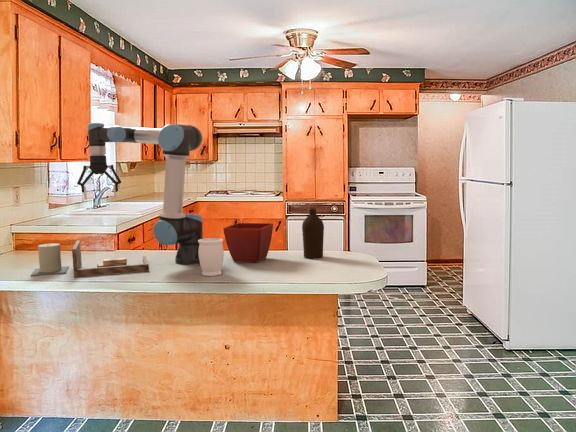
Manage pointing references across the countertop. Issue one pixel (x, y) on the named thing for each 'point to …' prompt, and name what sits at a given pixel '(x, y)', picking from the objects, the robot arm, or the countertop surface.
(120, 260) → the offcut stack
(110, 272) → the rack
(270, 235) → the plant pot
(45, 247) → the can
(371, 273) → the countertop surface
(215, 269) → the jar
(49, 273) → the mat
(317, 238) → the olive oil
